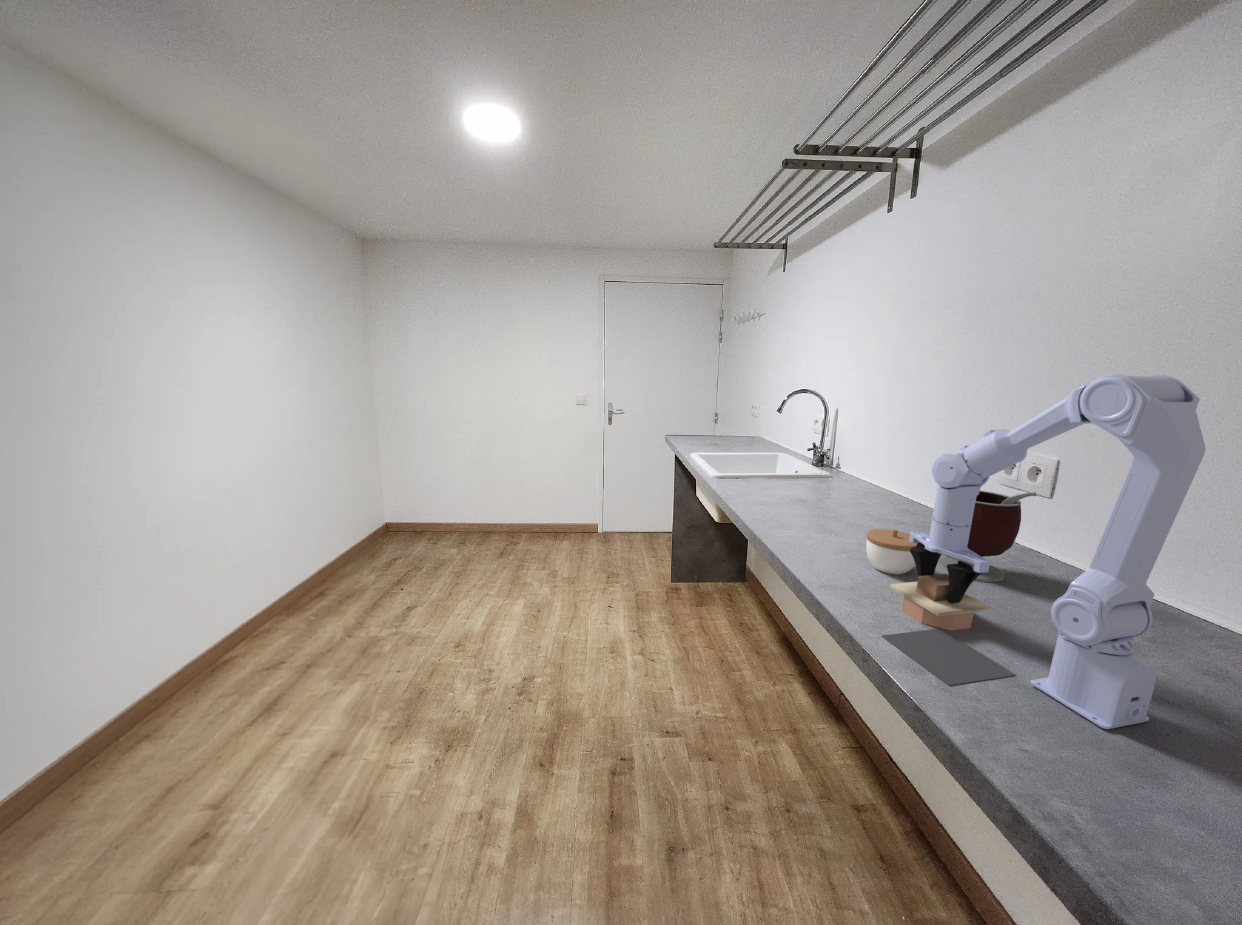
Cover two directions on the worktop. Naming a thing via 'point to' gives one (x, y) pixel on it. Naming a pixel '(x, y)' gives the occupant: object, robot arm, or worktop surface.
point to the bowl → (936, 617)
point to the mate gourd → (992, 529)
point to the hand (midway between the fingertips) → (938, 593)
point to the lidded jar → (890, 551)
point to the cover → (938, 596)
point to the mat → (947, 657)
